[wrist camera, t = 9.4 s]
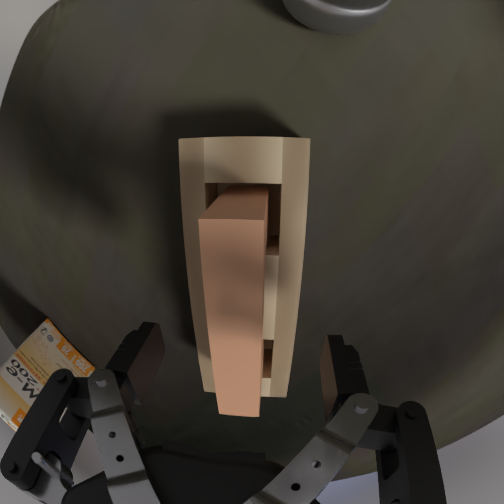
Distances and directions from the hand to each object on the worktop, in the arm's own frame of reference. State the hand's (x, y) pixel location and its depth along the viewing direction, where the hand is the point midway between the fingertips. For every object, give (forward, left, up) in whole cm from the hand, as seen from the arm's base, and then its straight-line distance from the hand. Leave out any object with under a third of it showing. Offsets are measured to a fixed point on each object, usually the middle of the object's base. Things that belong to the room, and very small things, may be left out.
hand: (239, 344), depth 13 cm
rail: (0, 0, -8) cm, 8 cm away
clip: (0, 0, -7) cm, 7 cm away
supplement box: (+22, +12, -8) cm, 26 cm away
